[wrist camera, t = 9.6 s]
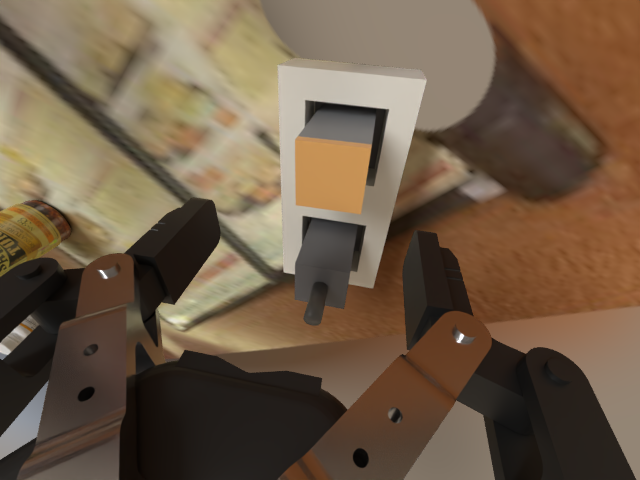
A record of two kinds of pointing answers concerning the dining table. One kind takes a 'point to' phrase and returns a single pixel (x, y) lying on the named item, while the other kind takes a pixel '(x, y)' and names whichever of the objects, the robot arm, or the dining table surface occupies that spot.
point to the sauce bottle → (29, 232)
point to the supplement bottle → (18, 335)
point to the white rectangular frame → (381, 184)
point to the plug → (334, 158)
